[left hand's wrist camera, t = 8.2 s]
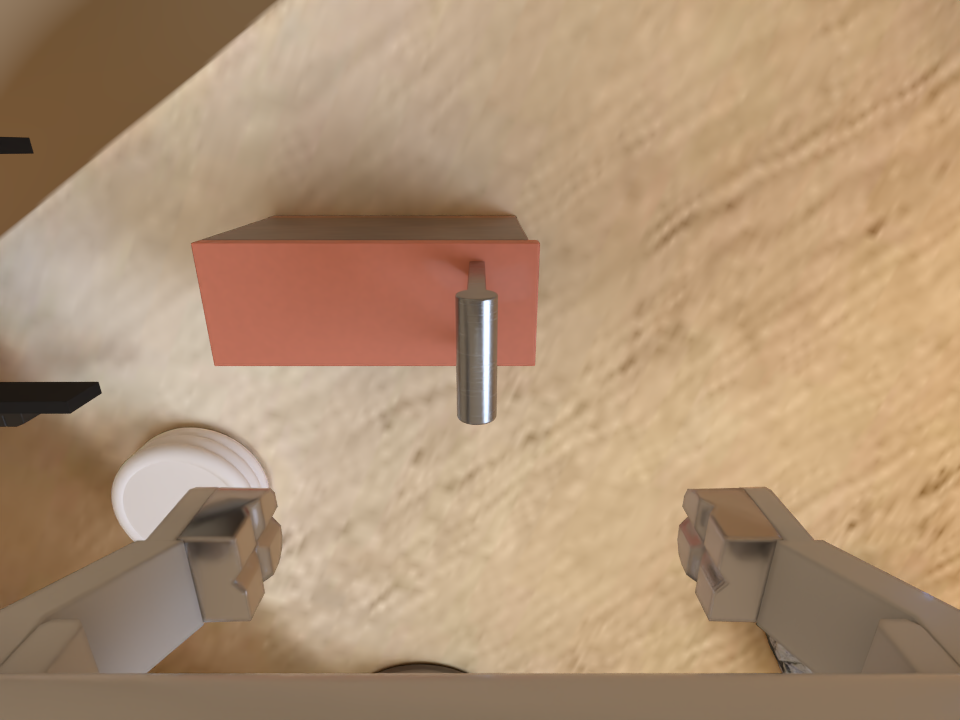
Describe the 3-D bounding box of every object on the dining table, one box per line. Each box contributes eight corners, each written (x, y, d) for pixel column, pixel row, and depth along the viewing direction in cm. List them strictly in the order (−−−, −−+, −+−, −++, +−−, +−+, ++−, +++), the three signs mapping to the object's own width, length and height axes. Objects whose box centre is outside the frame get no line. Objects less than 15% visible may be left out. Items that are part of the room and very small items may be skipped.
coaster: (270, 544, 43) (253, 577, 39) (141, 527, 42) (113, 559, 39) (273, 434, 39) (254, 461, 36) (132, 414, 38) (100, 439, 35)
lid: (537, 240, 25) (564, 279, 17) (533, 359, 27) (554, 441, 19) (199, 240, 25) (77, 279, 17) (222, 359, 27) (122, 442, 19)
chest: (515, 215, 34) (529, 239, 25) (513, 307, 36) (525, 359, 27) (273, 215, 34) (200, 239, 25) (286, 307, 36) (222, 359, 27)
